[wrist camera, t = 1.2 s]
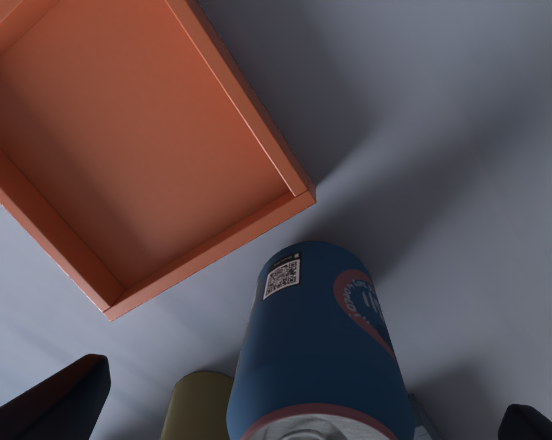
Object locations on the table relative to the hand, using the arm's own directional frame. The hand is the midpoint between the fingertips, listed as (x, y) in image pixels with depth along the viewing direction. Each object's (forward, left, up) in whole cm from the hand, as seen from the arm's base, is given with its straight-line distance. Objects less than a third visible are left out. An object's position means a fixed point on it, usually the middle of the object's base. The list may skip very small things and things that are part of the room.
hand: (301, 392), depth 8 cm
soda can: (-5, +3, -14) cm, 15 cm away
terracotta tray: (+8, +7, -14) cm, 17 cm away
